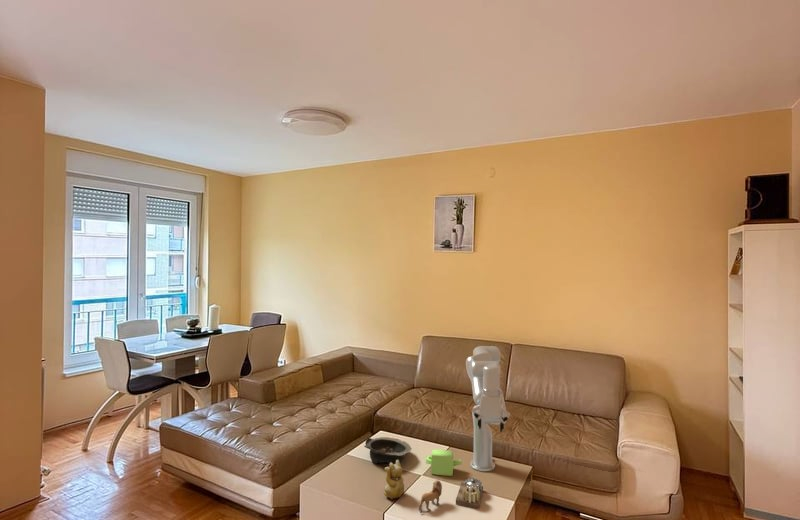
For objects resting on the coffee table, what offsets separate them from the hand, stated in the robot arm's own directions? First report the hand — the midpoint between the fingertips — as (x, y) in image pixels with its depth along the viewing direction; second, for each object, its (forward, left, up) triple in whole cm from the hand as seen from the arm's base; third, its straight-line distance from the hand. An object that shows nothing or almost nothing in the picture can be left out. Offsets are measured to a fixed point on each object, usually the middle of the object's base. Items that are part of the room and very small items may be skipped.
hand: (490, 429), depth 196 cm
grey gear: (+5, -7, -26) cm, 28 cm away
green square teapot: (-11, -24, -29) cm, 39 cm away
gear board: (+9, -8, -28) cm, 31 cm away
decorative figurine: (+19, -40, -28) cm, 53 cm away
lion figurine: (+21, -23, -29) cm, 42 cm away
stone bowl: (-14, -55, -29) cm, 64 cm away
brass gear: (+13, -7, -26) cm, 30 cm away
